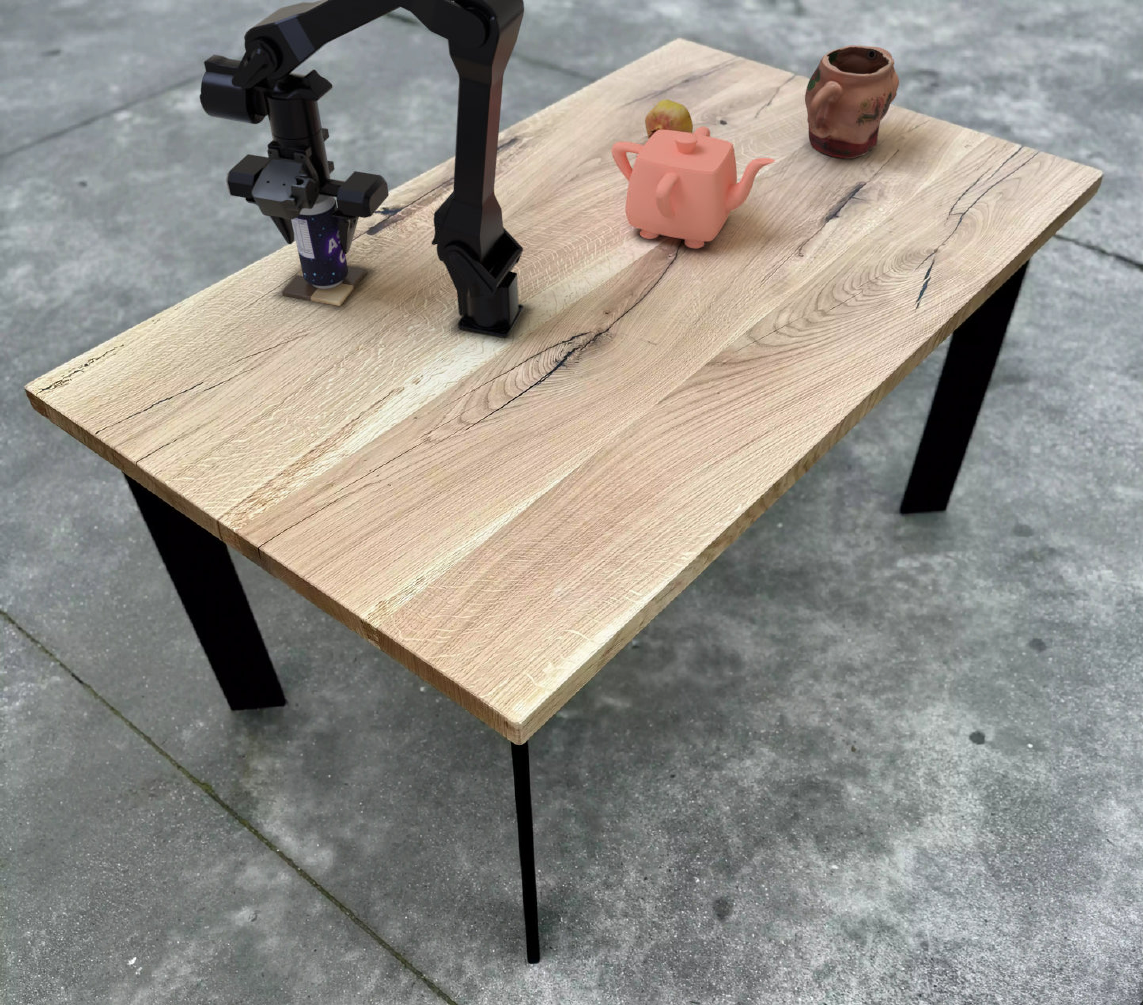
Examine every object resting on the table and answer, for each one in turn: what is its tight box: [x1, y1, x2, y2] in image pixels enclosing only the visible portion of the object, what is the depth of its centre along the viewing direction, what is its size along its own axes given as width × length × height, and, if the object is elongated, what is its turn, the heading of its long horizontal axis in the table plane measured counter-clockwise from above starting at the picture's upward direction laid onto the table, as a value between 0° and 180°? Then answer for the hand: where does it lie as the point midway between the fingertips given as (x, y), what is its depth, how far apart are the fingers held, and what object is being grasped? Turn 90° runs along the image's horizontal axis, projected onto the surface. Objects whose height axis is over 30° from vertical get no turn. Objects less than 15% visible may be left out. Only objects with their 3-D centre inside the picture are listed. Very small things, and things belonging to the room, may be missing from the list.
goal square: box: [281, 264, 368, 307], centre depth 140 cm, size 8×8×1 cm
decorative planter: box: [804, 44, 900, 159], centre depth 161 cm, size 20×12×14 cm, turn 143°
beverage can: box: [291, 195, 349, 289], centre depth 135 cm, size 6×6×12 cm
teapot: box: [611, 126, 776, 249], centre depth 145 cm, size 17×16×13 cm
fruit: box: [644, 99, 694, 140], centre depth 164 cm, size 7×7×10 cm
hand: (318, 247), depth 136 cm, fingers open, 7 cm apart
